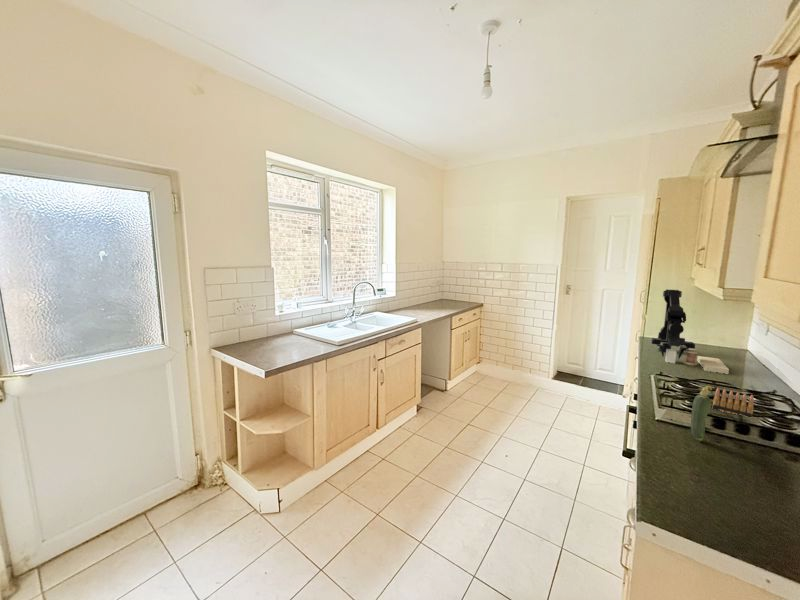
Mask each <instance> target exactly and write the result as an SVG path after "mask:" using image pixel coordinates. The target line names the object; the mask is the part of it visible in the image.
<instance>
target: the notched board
mask: <svg viewBox="0 0 800 600" xmlns="http://www.w3.org/2000/svg"><path fill="white" fill-rule="evenodd" d="M696 361H697V363H700V364H699V365H700V366H701V368H702V367H703V368H702V369H703V370H704V372H710V371H711V372H710V373H716V372H718V374H723V373H725V374H724V375H729V372H730V369H729V367H727V365H726V364H725V363H723V361H722V360H721V359H720V358H716V357H709V356H700V355H697V356H696Z"/></svg>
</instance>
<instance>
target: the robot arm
mask: <svg viewBox="0 0 800 600" xmlns="http://www.w3.org/2000/svg"><path fill="white" fill-rule="evenodd" d="M682 295H683V290H679V289H667V288H666V289H665V290H663V291H662V297H663V300H664V301H665V303H666V306H665V314H664V322H663V323H664V324H663V327H661V328H660V331H659V332H658V334H657V337H652V338H651V339H650V340H651V341H650V343H651V344H652V345H656V346H657V347H658V348H657V350H658V352H660V353H661V356H662V357H664V355H665V353H666V350H667V349H672V347H677V348H679V350H678V355H677V359H678V360H680V358H681V357H682V355H683V353H684V352H685V350H686V349H695V350H696V344H695V343H694V341H688V340H687V341H686V338H684V337H681V336H680V335H681V334H682V333H683V332H684V326H683V325H682V324H685V323H686V321H687V314H686V312H685V311H684V308H683V307H682V306H681V304H680V298H682V297H683V296H682Z"/></svg>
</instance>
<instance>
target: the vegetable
mask: <svg viewBox="0 0 800 600" xmlns="http://www.w3.org/2000/svg"><path fill="white" fill-rule="evenodd" d="M709 391H713V388H712V386H711V385H706V386H704V387H703V388H702V390H701V391H699V394H697V395H696V396H695V397H694V399H693V401H692V408H691V416H690V417H691V427H690V430H691V435H692V437H694V439H696V440H697V439H698V440H700V441H699V442H702V441H703V440H704V437H705V432H706V431H705V429H706V424H705V422H706V418H707V416H708V414H709V413H710V410H711V408H712V407H711V406H712V400H711V399H710V397H709V396H708V395H709Z"/></svg>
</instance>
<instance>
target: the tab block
mask: <svg viewBox="0 0 800 600" xmlns="http://www.w3.org/2000/svg"><path fill="white" fill-rule="evenodd" d="M676 359H677V350H676V349H672V348H671V349H667V350H666V352H665V358H664V360H665V362H666V363H668V362H670V363H669V364H676Z"/></svg>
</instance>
